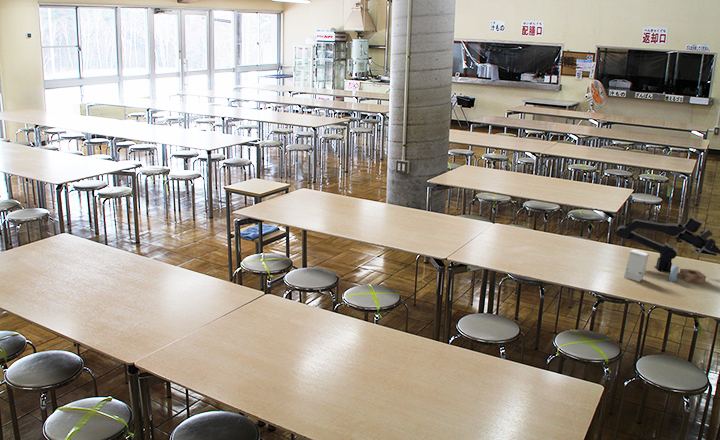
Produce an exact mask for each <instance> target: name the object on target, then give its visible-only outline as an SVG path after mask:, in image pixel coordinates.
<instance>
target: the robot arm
mask: <svg viewBox="0 0 720 440" xmlns="http://www.w3.org/2000/svg"><path fill="white" fill-rule="evenodd" d="M703 224H704V222H702V221H701V220H700V219H698V218H694V217H692V216H690V217H689V218H688V220H687V221H686V222H685V223H680V224H679V223H675V222H664V223H660V222H655V221H648V220H643V219H639V218H635V219H633V220H632V221H629V222H627V223H626V224H622V225H619V226H618V228H617V230H616V235H617V236H618V237H619V238H621V239H625V240H631V241H634V242H636V243H638V244H641V245H643V246H646V247H647V248H650V249H652V250H654V251H656V252H658V253H659V257H657V260H656V265H654V268H655V269H656V270H657V271H658V272H667V273H671V268H672V266H673V263H672V261H673V260H674V259H675V258H677V255H678V254H677V249H676V247H675V246H674V244H669V242H666V241H665V242H664V243H660V242H658V241H655V240H653V239H650V238H648V237H646V236H643V235H642V234H639V233H637V232H635V231H634V230H636V229H637V228H639V229H646V230H651V231H657V232H661V233H663V234H666V235H669V236H672V237H674V238H675V241H676V243H678V242H680V241H683V242H685V243H686V244H688V246H690V247H691V246H692V247H694V248H693V252H695V254H700V255H707V256H708V255H709V256H714V257H716V256H717V255H720V248H719V247H718V246H717V245H716V240H714V239H713V238H709V237H710V236H712V235H713V234H714V233H713V232H712V231H711V230H710V229H706V230H704V231H703V230H701V231H699V229H700V228H701V227H702V226H703ZM698 231H699V232H698ZM697 232H698V233H699V234H694V233H697Z"/></svg>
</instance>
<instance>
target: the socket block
mask: <svg viewBox="0 0 720 440" xmlns="http://www.w3.org/2000/svg"><path fill="white" fill-rule="evenodd" d="M678 276H679V277H680V278H681V279H682V280H683V281H685V282H686V283H690V284H691V283H694V284H706V283H705V282H706V279H707V276H706V275H705V274H703V273H702V272H701V271H700V270H698V269H691V268H679V274H678Z"/></svg>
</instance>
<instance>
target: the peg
mask: <svg viewBox="0 0 720 440" xmlns="http://www.w3.org/2000/svg"><path fill="white" fill-rule="evenodd" d="M679 270H680V267H679V266H677V265H672V266H671V270H670V271H671V272H669V273H670V274H669V276H668V281H669V282H671V283H675V282H676V281H677V276H678V272H679Z"/></svg>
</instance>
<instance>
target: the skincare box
mask: <svg viewBox="0 0 720 440" xmlns="http://www.w3.org/2000/svg"><path fill="white" fill-rule="evenodd" d="M649 255H650V253H648V252H645V251H642V250H638V249H632V250H630V252H629V256H628V259H627V263H626V267H625V272H624V274H623V275H624V277H623V278H625V279H628V280H633V281H635V282H641V281H642V280H643V279H644V275H645V271H646V267H647V264H648V260H649V257H650V256H649Z"/></svg>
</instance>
